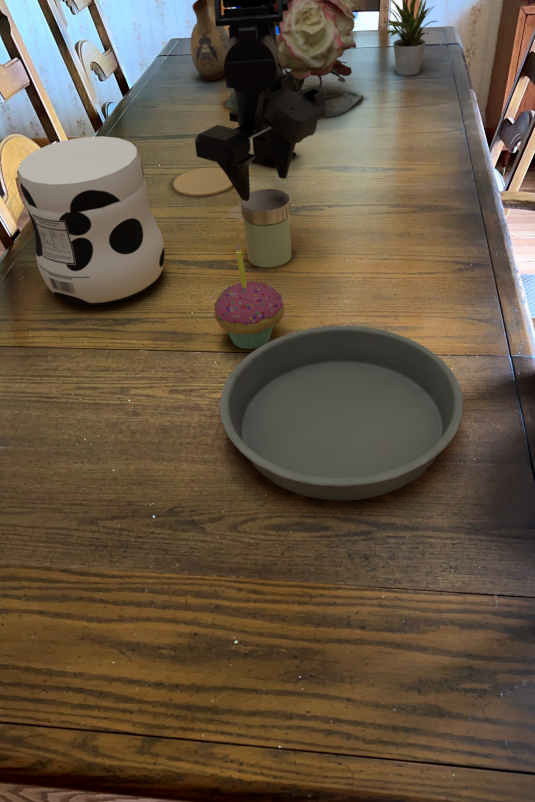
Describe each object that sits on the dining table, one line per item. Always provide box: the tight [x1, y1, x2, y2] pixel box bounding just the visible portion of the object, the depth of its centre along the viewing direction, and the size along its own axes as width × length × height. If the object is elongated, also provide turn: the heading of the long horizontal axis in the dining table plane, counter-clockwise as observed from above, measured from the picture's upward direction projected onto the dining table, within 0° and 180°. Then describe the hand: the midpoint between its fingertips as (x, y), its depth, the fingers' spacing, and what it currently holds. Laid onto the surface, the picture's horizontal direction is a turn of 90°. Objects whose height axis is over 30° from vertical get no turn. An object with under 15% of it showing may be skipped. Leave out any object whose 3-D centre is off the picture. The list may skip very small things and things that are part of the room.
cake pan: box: [219, 325, 465, 501], centre depth 74 cm, size 25×25×4 cm
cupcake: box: [213, 244, 285, 350], centre depth 85 cm, size 9×8×12 cm
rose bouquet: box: [206, 0, 364, 118], centre depth 142 cm, size 26×29×30 cm
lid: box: [240, 188, 292, 225], centre depth 99 cm, size 7×7×2 cm
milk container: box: [17, 135, 166, 306], centre depth 96 cm, size 17×17×18 cm
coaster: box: [172, 167, 234, 197], centre depth 125 cm, size 11×11×1 cm
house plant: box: [377, 0, 439, 76], centre depth 159 cm, size 14×14×16 cm
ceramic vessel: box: [189, 0, 229, 81], centre depth 162 cm, size 16×9×25 cm, turn 174°
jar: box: [243, 214, 293, 268], centre depth 101 cm, size 6×6×8 cm
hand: (264, 188), depth 97 cm, fingers open, 8 cm apart
